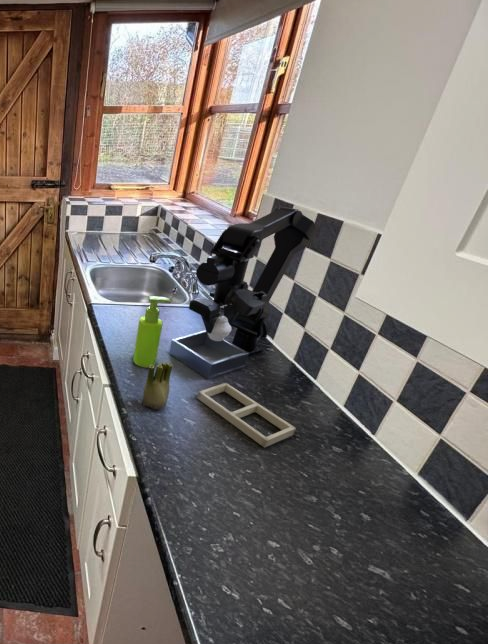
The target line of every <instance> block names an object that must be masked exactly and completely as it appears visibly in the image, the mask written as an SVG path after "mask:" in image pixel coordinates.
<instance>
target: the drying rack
mask: <svg viewBox="0 0 488 644" xmlns="http://www.w3.org/2000/svg"><path fill="white" fill-rule="evenodd" d="M224 392H225V393H226V394H228V395H229V396H230V397H233V398H234V399H235V400H237V401H238V402H240V403H241V404H243V405H244V406H243V407H241V408H238V409H236V410H234V411H230V410H229V409H227V408H226V407H224V406H223V405H222V404H220V403H219V402H217V401H216V400H214V399H213V398H212V397H214V396H216V395H218V394H221V393H224ZM196 399H197V400H199V401H200V402H202V403H203V404H205V405H206V406H207V407H208V408H210V409H211V410H212V411H214V412H215V413H216V414H218V415H219V416H221V417H222V418H223V419H225V420H226V421H227V422H228V423H230V424H231V425H233V426H234V427H235V428H236V429H238V430H240V431H241V432H242V433H244V434H245V435H247V436H248V437H249V438H250V439H252V440H253V441H255V442H256V443H257V444H259V445H260V446H261V447H263V448H267V447H269V446H272V445H274V444H276V443H278V442H281V441H283V440H285V439H288V438H291V437H292V436H294V435H295V432H296V429H297V427H295V426H294V425H292V424H291V423H290V422H287V421H286V420H284V419H283V418H281V417H280V416H278V415H276V413H274V412H272V411H271V410H269V409H267V408H266V407H265V406H264V405H263V406H262V405H261V404H260V403H258V402H257V401H255V400H254V399H252V398H250V397H249V396H248V395H246V394H244V393H243V392H241V391H239V390H238V389H237V388H235V387H233V386H232V385H231V384H229V383H227V382H223V383H221V384H220V383H219V384H217V385H215V386H211V387H209V388H208V387H207V388H206V389H202V390H199V391H198V393H197V397H196ZM254 413H256V414H257V415H259V416H260V417H262V418H264V419H265V420H266V421H268V422H269V423H271V424H272V425H274V426H275V427H277V428H278V429H280V431H277V432H275V433H273V434H270V435H268V436H265V435H264V434H263V433H261V432H260V431H258V430H257V429H256V428H254V427H253V426H251V425H249V424H248V423H247V422H245V421H244V420H243V419H241V418H244V417H246V416H249V415H251V414H254Z"/></svg>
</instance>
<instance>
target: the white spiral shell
mask: <svg viewBox="0 0 488 644" xmlns="http://www.w3.org/2000/svg"><path fill="white" fill-rule="evenodd" d="M231 332H232V326H230V325H229V323H228V319H227V318H226V317H225V316H224V315H223V316H221V317H218V318H217V319H216V322H215V325H214V328H213V330H212V332H211V333H210V334H209V333H208V336H209V338H210V339H212V340H214V341H222V340H223V339H224V340H225V338H227V337H228V336H229V335H230V333H231Z"/></svg>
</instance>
